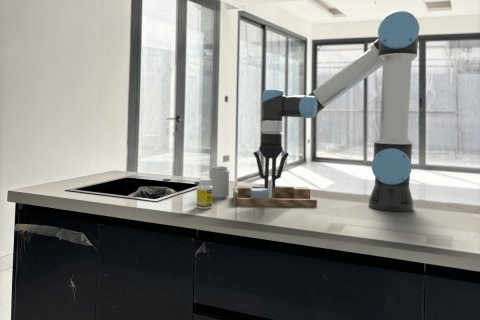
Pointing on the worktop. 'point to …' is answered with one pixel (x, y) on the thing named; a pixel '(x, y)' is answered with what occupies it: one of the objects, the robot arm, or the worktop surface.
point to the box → (274, 197)
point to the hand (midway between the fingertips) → (269, 197)
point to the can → (220, 182)
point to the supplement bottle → (204, 194)
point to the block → (259, 193)
